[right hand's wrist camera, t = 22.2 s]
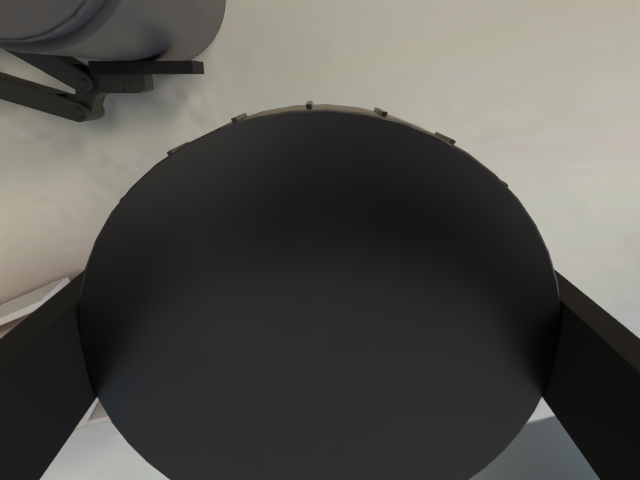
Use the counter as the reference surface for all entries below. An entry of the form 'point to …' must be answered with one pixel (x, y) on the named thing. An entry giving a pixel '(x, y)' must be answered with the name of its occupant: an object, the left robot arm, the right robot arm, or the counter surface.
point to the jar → (111, 28)
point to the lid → (319, 304)
